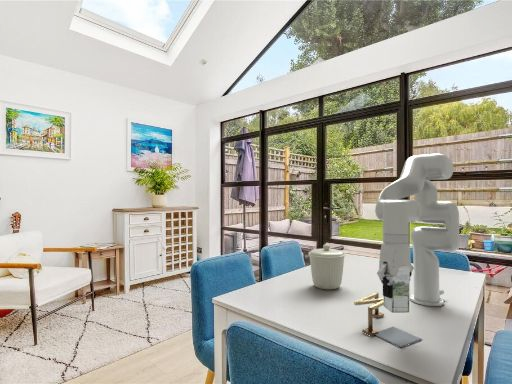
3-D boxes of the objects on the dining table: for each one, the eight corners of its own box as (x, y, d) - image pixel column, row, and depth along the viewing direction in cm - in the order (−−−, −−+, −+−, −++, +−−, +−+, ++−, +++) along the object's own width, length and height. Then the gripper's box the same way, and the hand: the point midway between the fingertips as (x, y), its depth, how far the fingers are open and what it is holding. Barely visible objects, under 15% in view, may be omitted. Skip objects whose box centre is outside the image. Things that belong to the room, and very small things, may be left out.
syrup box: (400, 306, 100) (400, 262, 101) (410, 313, 94) (409, 266, 95) (383, 306, 100) (383, 262, 100) (392, 313, 94) (391, 266, 95)
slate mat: (393, 328, 104) (393, 326, 104) (421, 340, 95) (421, 338, 95) (373, 334, 99) (373, 333, 99) (400, 348, 91) (400, 346, 91)
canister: (303, 289, 148) (303, 245, 148) (314, 280, 164) (314, 240, 164) (341, 294, 139) (341, 248, 140) (349, 284, 155) (348, 242, 156)
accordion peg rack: (376, 313, 117) (375, 290, 117) (406, 325, 106) (405, 300, 106) (342, 322, 109) (342, 298, 109) (371, 337, 98) (370, 310, 98)
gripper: (402, 236, 105) (402, 287, 105) (367, 239, 97) (367, 296, 96) (423, 238, 99) (424, 294, 98) (387, 242, 90) (388, 303, 90)
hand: (396, 294), depth 97 cm, fingers closed on syrup box, 7 cm apart
